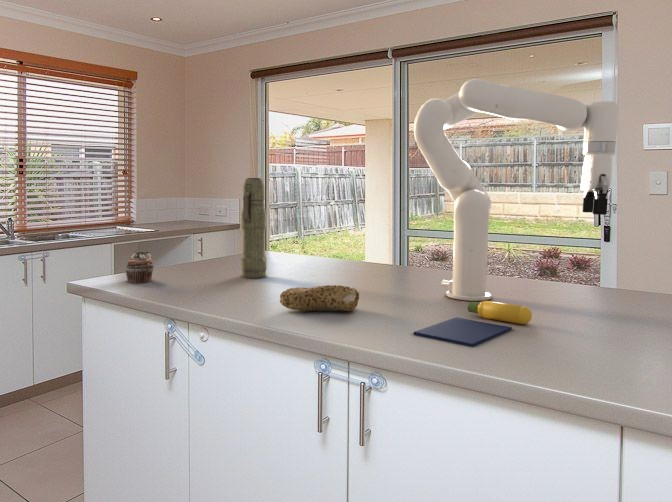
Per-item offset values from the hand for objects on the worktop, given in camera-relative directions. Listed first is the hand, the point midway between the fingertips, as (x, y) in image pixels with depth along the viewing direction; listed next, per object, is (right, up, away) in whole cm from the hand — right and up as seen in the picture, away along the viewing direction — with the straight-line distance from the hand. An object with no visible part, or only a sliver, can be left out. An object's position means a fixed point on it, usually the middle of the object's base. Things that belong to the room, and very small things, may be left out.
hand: (594, 213), depth 162 cm
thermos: (-94, -19, +52) cm, 109 cm away
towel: (-43, -29, -25) cm, 58 cm away
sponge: (-75, -26, -3) cm, 79 cm away
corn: (-31, -27, -13) cm, 43 cm away
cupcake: (-132, -21, +42) cm, 141 cm away
